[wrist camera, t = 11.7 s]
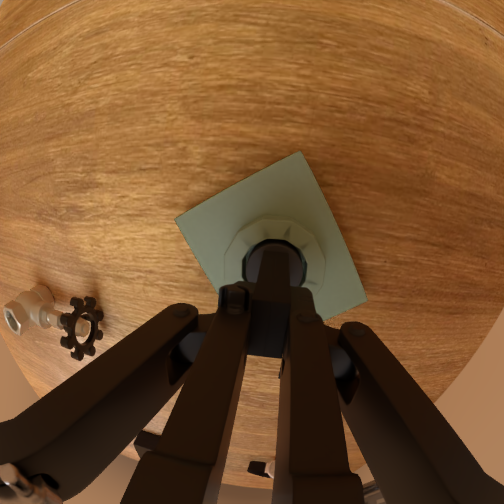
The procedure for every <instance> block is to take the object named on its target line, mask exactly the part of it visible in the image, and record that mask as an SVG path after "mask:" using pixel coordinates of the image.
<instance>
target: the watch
mask: <svg viewBox="0 0 504 504" xmlns="http://www.w3.org/2000/svg"><path fill="white" fill-rule="evenodd" d="M274 470H275V460H274V461H272V462H270V463H268V462H267V463H265V462H258V461H251V462H250V464H249V467H248V470H247V471H248V472H249V473H252V474H255V475H259V476H262V477H267V478H273V479H274Z"/></svg>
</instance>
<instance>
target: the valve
mask: <svg viewBox="0 0 504 504" xmlns="http://www.w3.org/2000/svg"><path fill="white" fill-rule="evenodd" d="M84 301H86V305H85V306H84ZM84 301H83V300H82V299H81V298H77V297H72V298H71V301H70V305H71V306H74V308H75V310H74V311H73V312H72V314H71V313H63V312H61V311H58V310H55V309H54V304H55V301H54V298H53V296H52V294H51V292H50V290H49V289H48V288H47V287H46V286H43V285H37V286H35V287H33V288H32V289H30V291H24V292H22V293H20V294H19V295H18V296H17V298H16V299H15V301H13V300H12V301H10V302H9V303H7V304H6V305H4V317H5V320H6V322H7V324H8V326H9V327H10V329H11V330H12V331H13V332H14V333H15V334H17V335H20V336H21V335H22V334H24V333H25V332H26V331H27V330H29V327H34V326H36V325H38V326H40V327H42V328H44V329H47V328H50V327H51V326H53V327H55V328H57V329H60V330H62V329H63V328H64V330H65V332H67V333H68V336H67V337H64V336H62V337H61V340H60V343H61V346H62V347H65V348H67V349H72V348H73V347H74V348H75V351H74V352H71V357H72V358H74V359H76V360H79V361H81V360H82V359H83V357H84V354H86V355H89V356H94V355H95V352H96V349H95V347H94V346H93V344H94V341H95V339H96V340H101V339H102V338H103V332H102V331H101V330H98V322H99V321H102V319H103V316H104V315H103V312H102V311H99V310H95V309H94V307H95V306H96V299H95V298H93V297H89V296H86V297H85V298H84ZM84 312H87V313H88V314H83V313H84ZM81 314H83V315H81ZM86 320H87V321H91V331H90V334H89V337H88V339H87V340H86V341H85V342H84V343H82V344H81V343H79V342H78V341H77V339H76V336H81V337H85V336H86V335H87V334H88V333H89V323H88V322H87V321H86Z"/></svg>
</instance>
